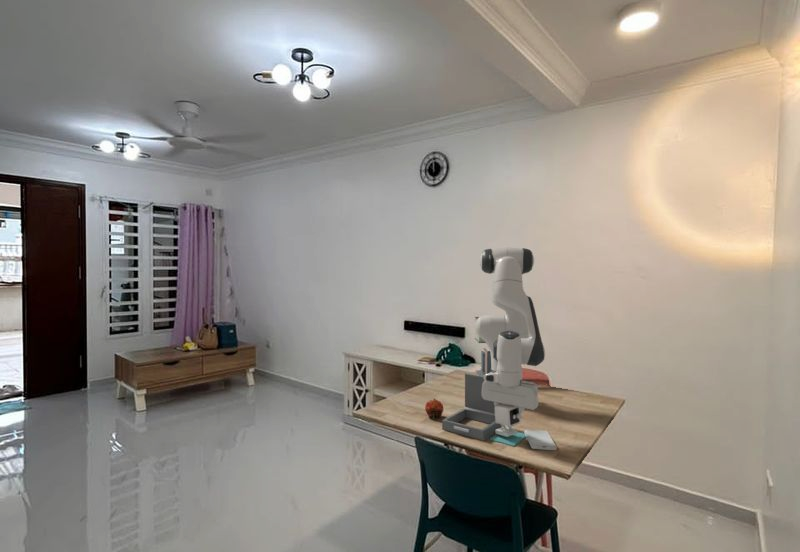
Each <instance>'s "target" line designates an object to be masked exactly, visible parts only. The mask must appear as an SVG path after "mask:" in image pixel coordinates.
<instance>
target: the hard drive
mask: <svg viewBox="0 0 800 552" xmlns="http://www.w3.org/2000/svg"><path fill="white" fill-rule="evenodd" d="M523 434H525V436H526V437H525V438H526V441H528V444H529V446H530V447H531V449H532V450H546V451H557V448H558V447H557V445H556V443H555V442H554V439H553V438H552V436H551V435H550V434H549V432H548V430H540V429H539V430H537V429H524V433H523Z"/></svg>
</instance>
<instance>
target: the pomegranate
mask: <svg viewBox="0 0 800 552" xmlns="http://www.w3.org/2000/svg"><path fill="white" fill-rule="evenodd" d="M424 408H425V409H424V410H425V412H426V414H427V415H428V416H429V417H430V418H431V417H432V421H434V419H435V416H436V418H437V417H438V418H439V417H441V416H442V415H443V412H444V405H443V403H442V402H441V401H439V400H437V399H436V398H434V399H432V400H429V401H427V402H426V403H425V407H424Z"/></svg>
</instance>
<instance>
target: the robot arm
mask: <svg viewBox="0 0 800 552" xmlns="http://www.w3.org/2000/svg"><path fill="white" fill-rule="evenodd" d="M534 265H535V257H534V254H533V252H532V250H531V249H528V248H524V247H523V248H519V247H518V248H516V247H504V248H503V247H502V248H493V249H492V248H487V249H484V250H482V252H481V254H480V256H479V266H480V269H481V270H482V272H483V273H486V274H492V280H491V281H492V284H491V285H492V286H491V289H492V290H491V300H492V303H493V304H494V306H495V307H497V308H499V309H502V310H503V311H504V312H505V314H485V315H481V316H478V317H479V318H478V319H477V321H476V323H475V322H474V331H475V330H476V333H477V334H478V336H479V337H480V338H482V339H483V340H484V341H485V342H486V343H485V344H486V345H487V346H488V349H489V351H490V353H491V369H490V373H488V374H486V375H484V380H485V381H484V382H483V384H482V398H483V399H484V400H489V401H493V402H494V406H496V405H499V404H500V403H503V404H508V405H512V406H517V407H519V410H520V412H519V413H516V419H520V420H522V417H523V415H522V414H523V412H524V411H525V409H528V410H533V411H534V410H536V409H537V408H538V407H539V396H538V393H539V386H538V385H537V384H536V383H535V382H534V381H531V380H530V381H529V380H524V379H523V368H522V367H523V366H522V365H526V366H531V367H537V366H539V365H540V364H541V363H543V362H544V361H545V356H546V349H545V346H544V343H543V341H542V336H541V333H540V332H541V331H540V328H539V323H538V318H537V314H536V310H535V309H536V308H535V305H534V301H533V300H532V298H531V296H529V295H527V294H526V292H525V290H524V286H523V285H524V284H523V275H524V274H528V273H530V272H531V271H532V270H533V267H534Z"/></svg>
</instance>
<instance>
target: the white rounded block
mask: <svg viewBox="0 0 800 552" xmlns="http://www.w3.org/2000/svg"><path fill="white" fill-rule="evenodd" d="M519 412H520V410H519V407H517V406H512V405H508V404H503V403H502V404H499V405H496V406H495V422H496V423H497V424H498V423H499V424H501V426H502V428H501V429H500V428H499V429H496V430H495V435H496V434H499V435H503V436H506V437H508V436H511V435H514V434H516V433H517V432H518V430H517V429H516V428H513V427H515V426H518V425H521V424H520V423H521V421H522V419H516V413H519Z"/></svg>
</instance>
